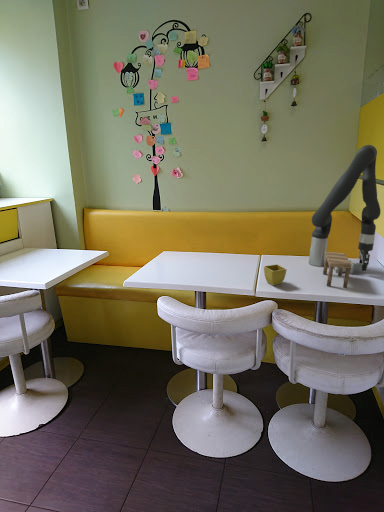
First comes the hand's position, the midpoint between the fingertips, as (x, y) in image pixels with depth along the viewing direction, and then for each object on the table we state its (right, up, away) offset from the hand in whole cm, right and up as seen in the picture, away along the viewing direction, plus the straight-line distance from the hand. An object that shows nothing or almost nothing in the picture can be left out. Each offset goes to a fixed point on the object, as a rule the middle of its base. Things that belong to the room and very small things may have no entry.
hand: (362, 268), depth 198 cm
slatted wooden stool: (-21, -6, -11) cm, 25 cm away
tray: (-6, -2, +3) cm, 7 cm away
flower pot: (-55, -8, -16) cm, 58 cm away
